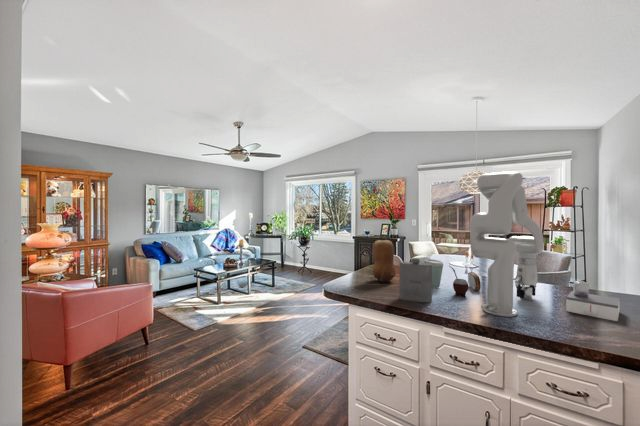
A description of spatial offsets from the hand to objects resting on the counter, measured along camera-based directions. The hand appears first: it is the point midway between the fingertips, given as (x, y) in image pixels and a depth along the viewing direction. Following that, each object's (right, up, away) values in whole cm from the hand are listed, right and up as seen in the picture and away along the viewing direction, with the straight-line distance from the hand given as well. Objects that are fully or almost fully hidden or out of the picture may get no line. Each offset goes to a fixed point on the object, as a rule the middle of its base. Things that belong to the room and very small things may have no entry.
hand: (526, 296), depth 148 cm
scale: (+17, -2, -17) cm, 24 cm away
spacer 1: (0, -2, 0) cm, 2 cm away
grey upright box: (-56, -1, -3) cm, 56 cm away
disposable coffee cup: (-38, -1, +21) cm, 43 cm away
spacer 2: (+15, +4, -14) cm, 21 cm away
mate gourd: (-30, -1, +5) cm, 31 cm away
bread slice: (-16, -1, +19) cm, 25 cm away
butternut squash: (-63, 0, +32) cm, 71 cm away
